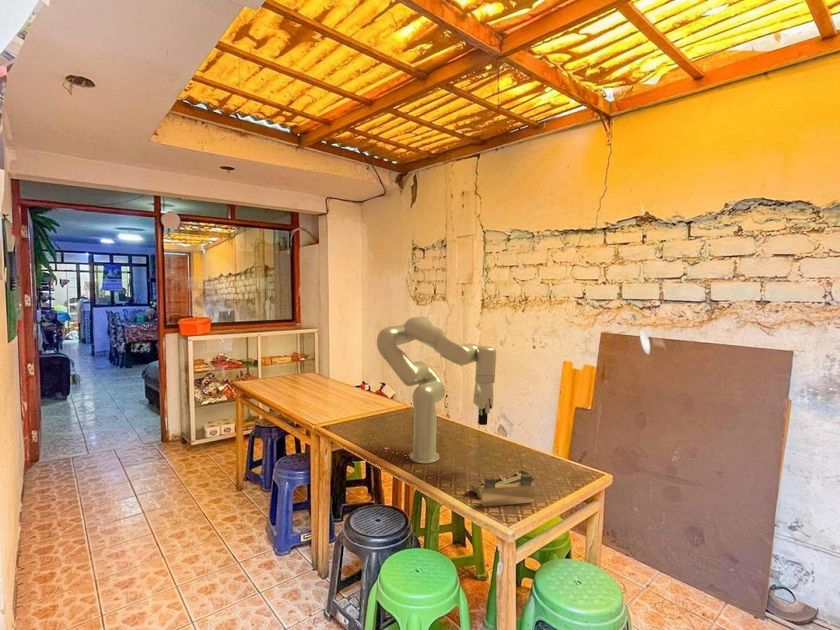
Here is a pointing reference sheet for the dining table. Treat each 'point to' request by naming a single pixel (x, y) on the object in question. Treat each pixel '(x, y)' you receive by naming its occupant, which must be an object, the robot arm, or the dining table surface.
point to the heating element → (499, 482)
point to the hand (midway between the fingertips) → (482, 424)
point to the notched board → (507, 492)
